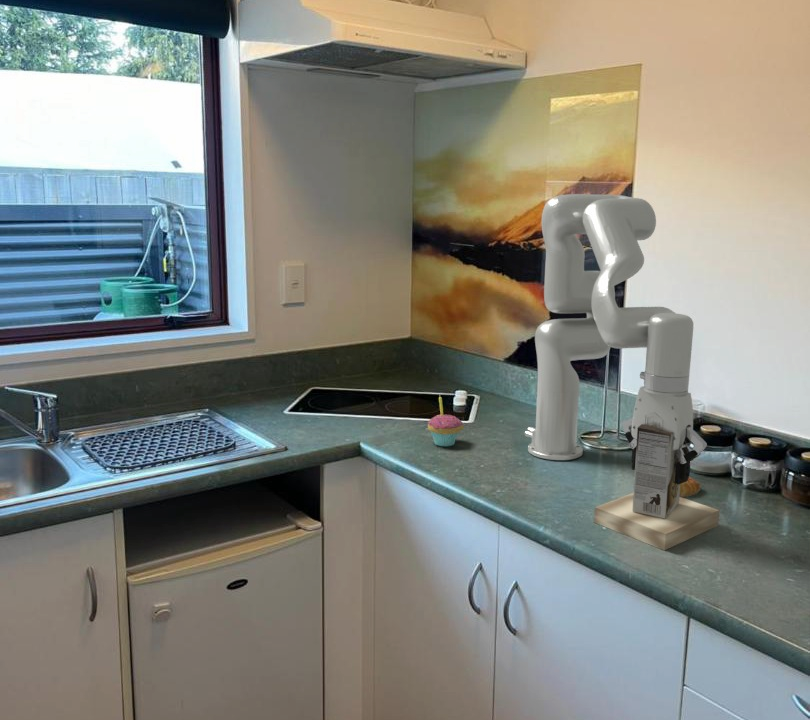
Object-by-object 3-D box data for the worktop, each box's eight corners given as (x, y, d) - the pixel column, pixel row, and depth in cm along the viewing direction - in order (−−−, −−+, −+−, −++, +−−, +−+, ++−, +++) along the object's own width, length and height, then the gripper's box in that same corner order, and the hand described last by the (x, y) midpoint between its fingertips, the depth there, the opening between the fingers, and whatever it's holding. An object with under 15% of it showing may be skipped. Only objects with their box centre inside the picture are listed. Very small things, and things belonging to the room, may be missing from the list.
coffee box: (645, 496, 153) (651, 415, 150) (680, 503, 149) (686, 420, 146) (630, 511, 145) (635, 426, 142) (666, 519, 142) (672, 432, 139)
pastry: (686, 484, 169) (688, 467, 168) (707, 496, 162) (709, 478, 162) (648, 489, 166) (649, 471, 165) (668, 501, 159) (670, 483, 159)
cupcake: (420, 443, 194) (420, 395, 192) (443, 435, 200) (444, 389, 198) (446, 451, 188) (446, 402, 186) (469, 443, 194) (470, 395, 192)
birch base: (593, 522, 148) (594, 507, 148) (648, 500, 159) (649, 486, 158) (664, 550, 137) (665, 534, 136) (718, 525, 147) (719, 510, 147)
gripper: (613, 377, 147) (607, 466, 150) (698, 396, 133) (690, 494, 137) (637, 371, 151) (631, 458, 155) (722, 389, 138) (713, 484, 142)
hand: (659, 475), depth 146 cm, fingers open, 8 cm apart
